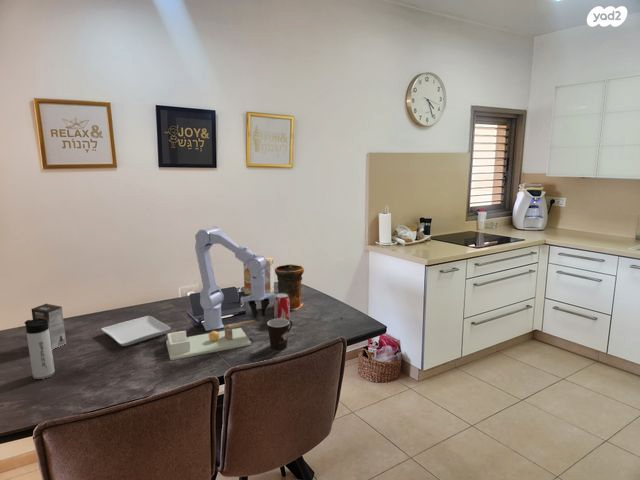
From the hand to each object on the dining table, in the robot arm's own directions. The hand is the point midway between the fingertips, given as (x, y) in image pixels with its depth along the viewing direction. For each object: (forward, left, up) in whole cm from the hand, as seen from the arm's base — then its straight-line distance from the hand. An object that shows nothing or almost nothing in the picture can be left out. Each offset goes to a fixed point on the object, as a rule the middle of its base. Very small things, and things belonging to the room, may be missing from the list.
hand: (259, 316), depth 174 cm
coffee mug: (+14, +5, -8) cm, 17 cm away
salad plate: (-22, -47, -8) cm, 52 cm away
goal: (0, -32, -7) cm, 33 cm away
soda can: (-11, +14, -8) cm, 20 cm away
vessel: (-27, +24, -8) cm, 37 cm away
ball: (0, -19, -5) cm, 20 cm away
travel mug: (+1, -77, -8) cm, 77 cm away
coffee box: (-25, -78, -8) cm, 82 cm away
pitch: (0, -21, -8) cm, 23 cm away
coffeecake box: (-53, +16, -8) cm, 56 cm away
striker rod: (0, -6, -7) cm, 9 cm away
